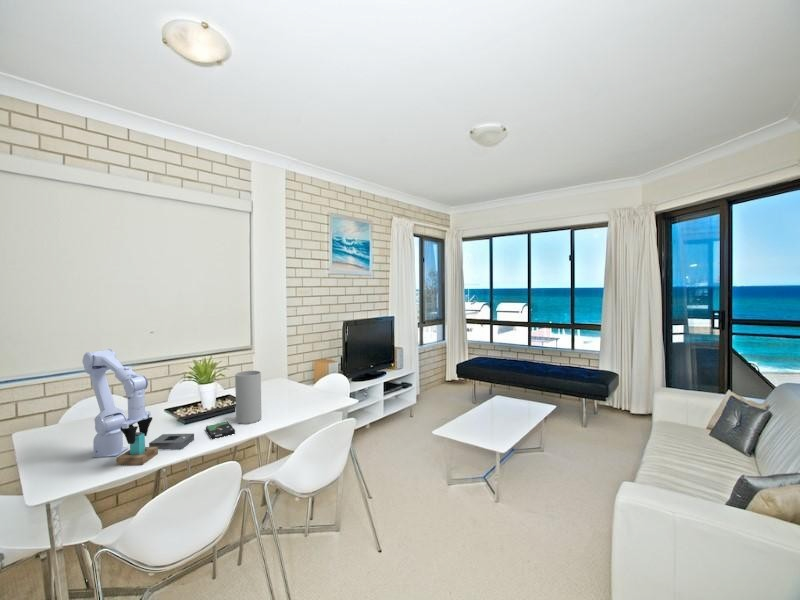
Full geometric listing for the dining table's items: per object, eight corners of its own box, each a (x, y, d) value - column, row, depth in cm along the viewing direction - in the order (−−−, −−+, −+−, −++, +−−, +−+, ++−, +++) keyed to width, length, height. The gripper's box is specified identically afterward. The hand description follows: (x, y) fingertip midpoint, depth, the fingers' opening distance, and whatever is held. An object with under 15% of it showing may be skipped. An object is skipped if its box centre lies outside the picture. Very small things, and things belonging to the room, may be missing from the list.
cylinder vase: (255, 424, 190) (254, 376, 190) (231, 424, 191) (230, 375, 190) (265, 416, 203) (264, 370, 202) (243, 415, 203) (242, 370, 203)
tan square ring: (116, 465, 146) (116, 458, 146) (133, 454, 156) (133, 447, 156) (142, 464, 147) (142, 457, 147) (157, 453, 157) (157, 446, 157)
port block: (149, 450, 161) (149, 442, 160) (162, 440, 170) (162, 433, 170) (182, 449, 161) (182, 441, 161) (194, 439, 171) (193, 432, 171)
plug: (130, 461, 150) (129, 435, 149) (136, 457, 153) (135, 431, 153) (139, 461, 150) (138, 435, 150) (145, 457, 153) (144, 431, 153)
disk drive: (235, 435, 178) (227, 426, 189) (235, 429, 178) (227, 420, 189) (211, 441, 171) (205, 431, 183) (211, 435, 171) (205, 425, 183)
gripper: (134, 412, 144) (135, 446, 144) (157, 401, 158) (158, 432, 159) (115, 412, 144) (117, 447, 144) (140, 401, 158) (141, 433, 158)
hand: (137, 439), depth 151 cm, fingers open, 7 cm apart
